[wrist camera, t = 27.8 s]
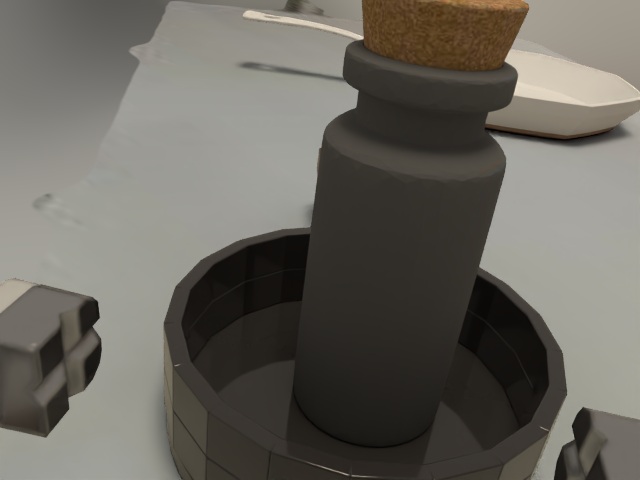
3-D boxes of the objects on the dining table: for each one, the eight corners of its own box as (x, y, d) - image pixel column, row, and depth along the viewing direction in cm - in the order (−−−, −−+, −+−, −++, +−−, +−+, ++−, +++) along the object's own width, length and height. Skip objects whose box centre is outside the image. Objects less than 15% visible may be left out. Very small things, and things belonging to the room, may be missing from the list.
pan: (658, 162, 57) (685, 97, 54) (210, 94, 60) (212, 28, 57) (591, 95, 80) (607, 45, 77) (266, 47, 83) (269, -3, 80)
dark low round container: (125, 572, 18) (118, 464, 15) (196, 295, 30) (197, 214, 28) (593, 590, 19) (647, 492, 17) (474, 316, 31) (497, 240, 29)
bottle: (345, 328, 28) (405, -27, 21) (462, 390, 25) (578, 4, 18) (261, 393, 23) (299, -27, 16) (390, 477, 21) (505, 15, 13)
